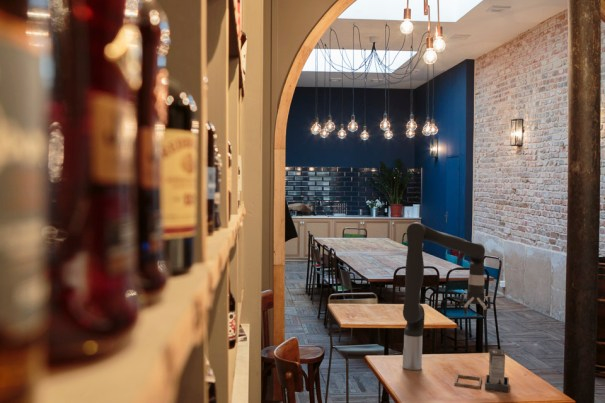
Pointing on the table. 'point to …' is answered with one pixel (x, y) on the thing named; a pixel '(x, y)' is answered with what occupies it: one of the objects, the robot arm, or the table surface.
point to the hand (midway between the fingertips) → (475, 315)
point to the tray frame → (468, 378)
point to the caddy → (497, 387)
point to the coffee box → (496, 367)
